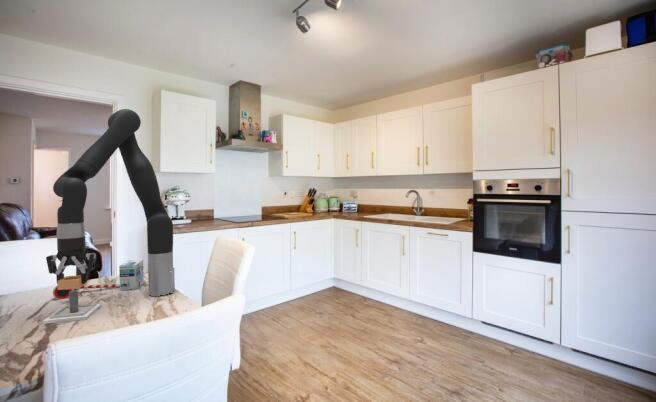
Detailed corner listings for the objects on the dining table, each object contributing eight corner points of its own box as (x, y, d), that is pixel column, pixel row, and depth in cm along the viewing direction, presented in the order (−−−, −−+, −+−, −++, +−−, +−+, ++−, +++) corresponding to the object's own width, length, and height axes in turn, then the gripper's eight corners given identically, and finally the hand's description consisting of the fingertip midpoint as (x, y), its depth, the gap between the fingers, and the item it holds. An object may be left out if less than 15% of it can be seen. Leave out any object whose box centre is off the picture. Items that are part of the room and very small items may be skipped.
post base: (101, 306, 116) (100, 285, 116) (86, 319, 105) (85, 295, 104) (62, 309, 113) (61, 287, 112) (43, 323, 101) (42, 299, 101)
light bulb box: (137, 289, 135) (136, 264, 134) (119, 291, 133) (118, 265, 133) (144, 282, 145) (143, 259, 145) (127, 283, 143) (127, 260, 143)
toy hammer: (124, 284, 143) (124, 270, 143) (122, 291, 133) (122, 276, 133) (60, 292, 132) (59, 277, 132) (52, 301, 122) (52, 285, 122)
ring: (87, 283, 112) (86, 274, 112) (78, 288, 106) (78, 279, 106) (67, 284, 110) (66, 276, 110) (57, 289, 104) (57, 281, 104)
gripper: (100, 233, 113) (101, 279, 114) (52, 235, 109) (53, 282, 110) (91, 236, 106) (92, 285, 107) (39, 238, 102) (40, 289, 103)
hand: (72, 284), depth 108 cm, fingers closed on ring, 6 cm apart
